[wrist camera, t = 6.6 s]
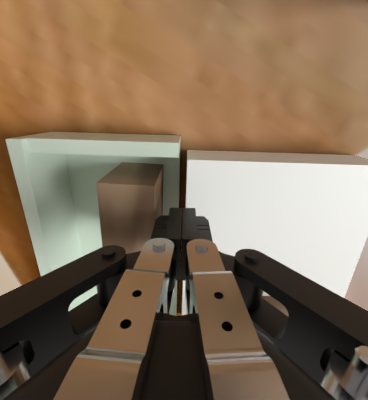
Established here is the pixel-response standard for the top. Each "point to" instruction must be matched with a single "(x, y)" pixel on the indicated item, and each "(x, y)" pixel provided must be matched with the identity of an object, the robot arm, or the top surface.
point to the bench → (284, 209)
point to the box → (81, 188)
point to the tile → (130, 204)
